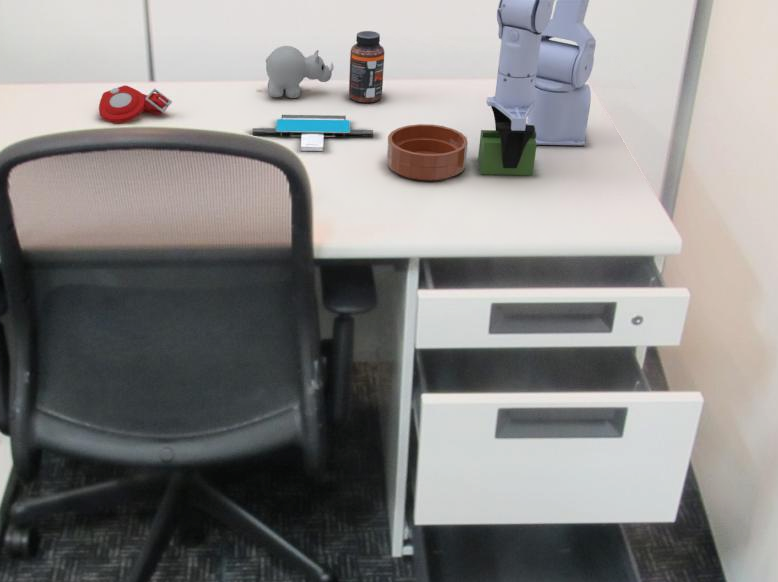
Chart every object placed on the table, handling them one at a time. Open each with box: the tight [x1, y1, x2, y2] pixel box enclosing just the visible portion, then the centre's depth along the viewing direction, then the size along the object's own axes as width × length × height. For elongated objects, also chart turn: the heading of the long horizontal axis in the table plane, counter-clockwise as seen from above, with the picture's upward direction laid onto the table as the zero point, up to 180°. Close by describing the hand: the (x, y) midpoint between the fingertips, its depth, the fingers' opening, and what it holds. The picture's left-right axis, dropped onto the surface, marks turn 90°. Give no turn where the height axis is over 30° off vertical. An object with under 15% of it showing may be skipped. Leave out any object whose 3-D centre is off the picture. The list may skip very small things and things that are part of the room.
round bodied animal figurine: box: [265, 45, 334, 99], centre depth 198 cm, size 7×12×8 cm, turn 92°
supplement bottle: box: [348, 30, 385, 103], centre depth 196 cm, size 6×6×11 cm
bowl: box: [386, 123, 468, 182], centre depth 174 cm, size 12×12×4 cm
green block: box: [477, 129, 538, 176], centre depth 173 cm, size 8×5×6 cm, turn 88°
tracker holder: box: [98, 84, 173, 124], centre depth 192 cm, size 12×4×10 cm
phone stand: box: [251, 114, 374, 152], centre depth 184 cm, size 20×12×2 cm, turn 89°
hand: (506, 157), depth 174 cm, fingers open, 7 cm apart
